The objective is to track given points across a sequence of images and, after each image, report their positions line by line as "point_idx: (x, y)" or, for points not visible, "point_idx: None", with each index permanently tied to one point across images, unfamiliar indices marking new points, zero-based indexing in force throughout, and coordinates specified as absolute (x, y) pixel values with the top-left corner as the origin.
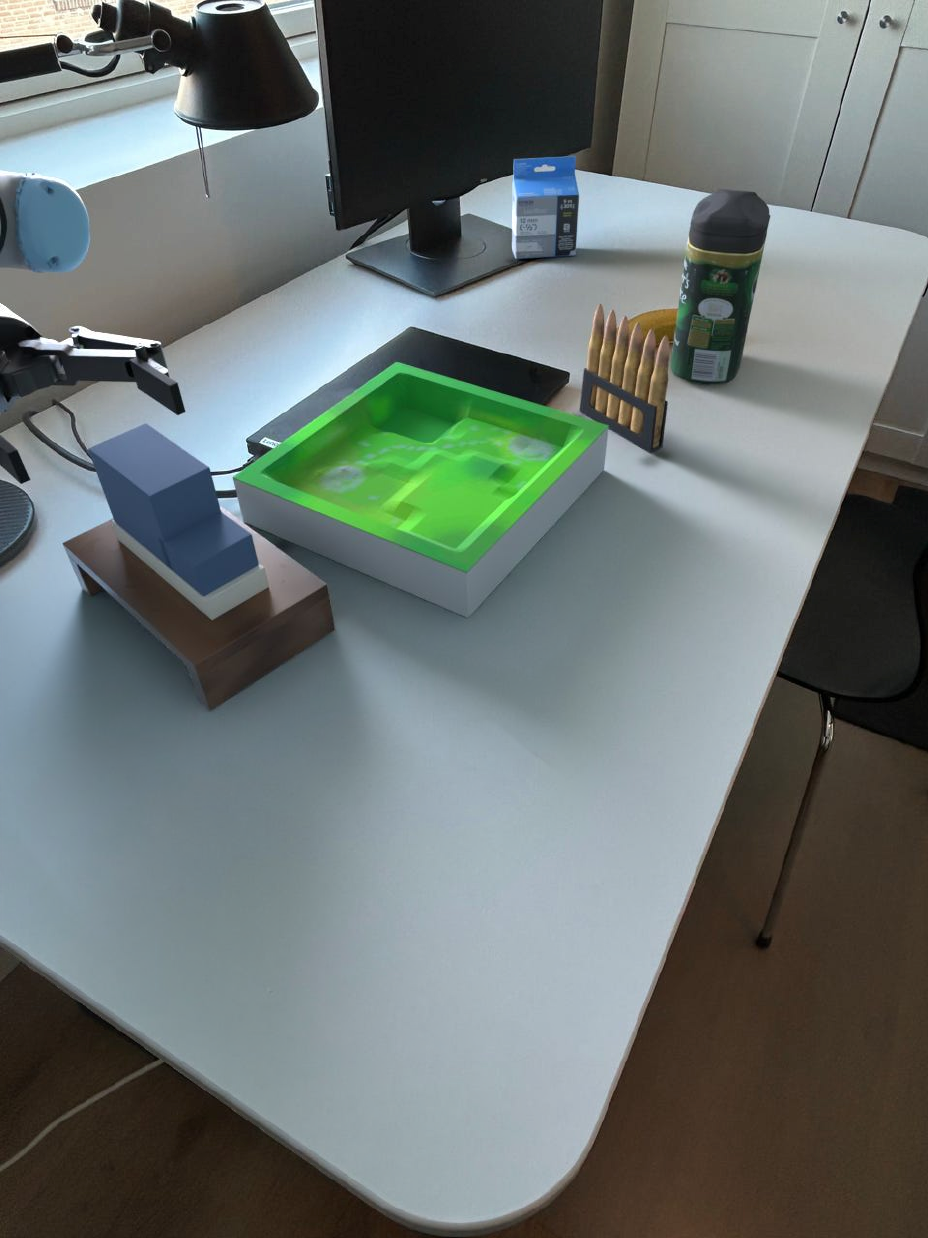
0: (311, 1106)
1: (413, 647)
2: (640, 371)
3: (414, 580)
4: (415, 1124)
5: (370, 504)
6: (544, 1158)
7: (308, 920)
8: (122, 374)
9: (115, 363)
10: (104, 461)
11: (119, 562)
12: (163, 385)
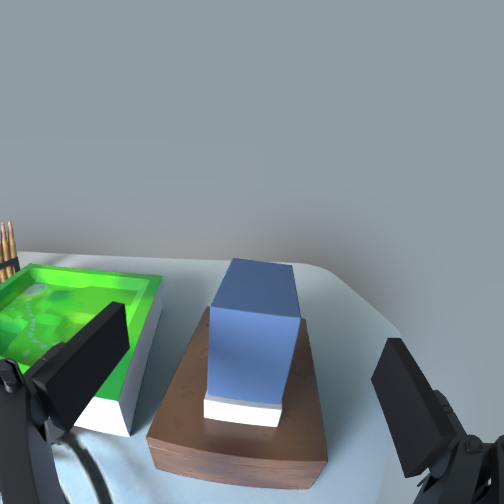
0: (339, 283)
1: (194, 314)
2: (5, 245)
3: (157, 312)
4: (322, 274)
5: None
6: (304, 264)
7: (317, 296)
8: (46, 452)
9: (35, 443)
10: (297, 297)
11: (295, 401)
12: (115, 320)
